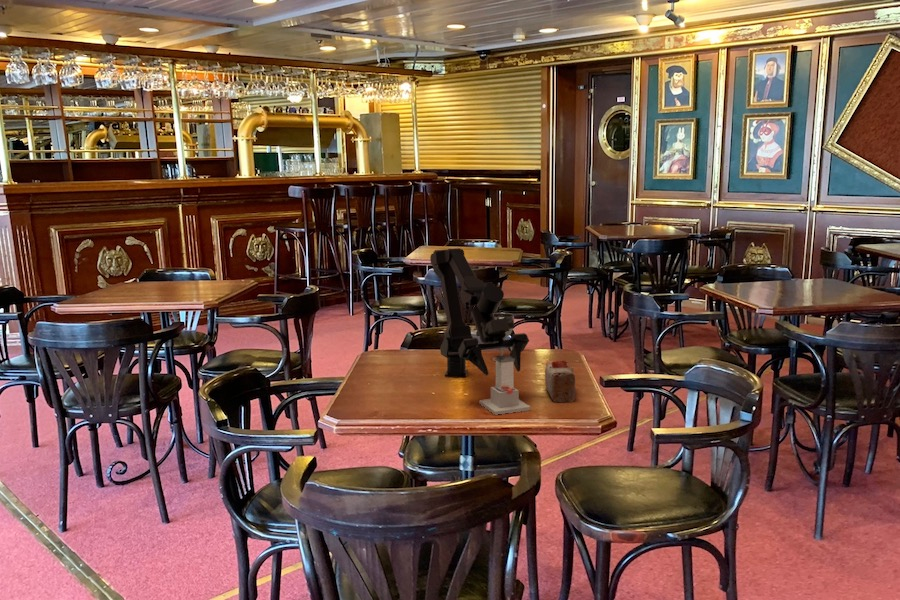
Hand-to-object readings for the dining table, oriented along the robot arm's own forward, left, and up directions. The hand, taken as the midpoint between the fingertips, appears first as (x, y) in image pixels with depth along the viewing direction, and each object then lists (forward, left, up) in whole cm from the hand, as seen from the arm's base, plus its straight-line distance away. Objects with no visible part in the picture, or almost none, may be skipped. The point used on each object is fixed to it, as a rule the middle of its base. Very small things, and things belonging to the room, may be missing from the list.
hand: (503, 372), depth 188 cm
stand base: (+1, 0, -9) cm, 9 cm away
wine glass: (-48, -3, -9) cm, 49 cm away
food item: (-11, +15, -9) cm, 21 cm away
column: (+1, 0, -8) cm, 8 cm away
